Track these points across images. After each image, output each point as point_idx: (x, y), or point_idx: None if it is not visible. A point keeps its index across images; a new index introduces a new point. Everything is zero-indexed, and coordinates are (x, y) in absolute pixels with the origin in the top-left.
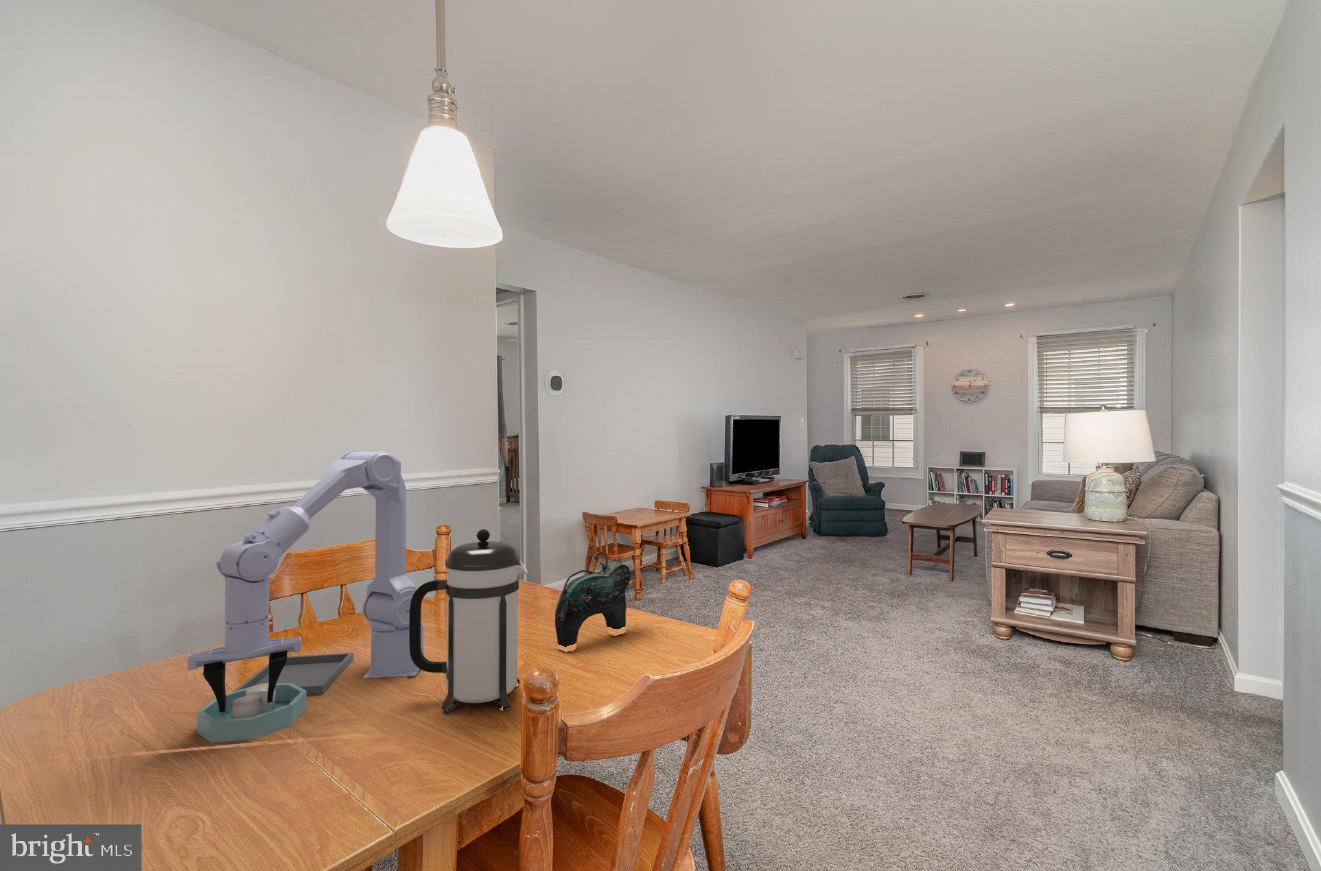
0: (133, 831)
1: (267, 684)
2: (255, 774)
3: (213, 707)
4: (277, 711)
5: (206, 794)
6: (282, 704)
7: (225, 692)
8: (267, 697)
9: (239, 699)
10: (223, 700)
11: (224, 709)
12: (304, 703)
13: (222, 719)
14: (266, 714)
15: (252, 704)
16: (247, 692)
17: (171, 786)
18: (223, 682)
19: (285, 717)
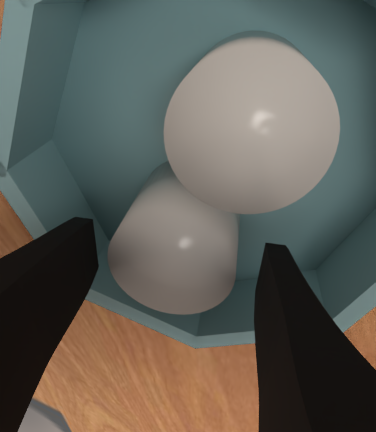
0: (56, 418)
1: (297, 92)
2: (205, 402)
3: (32, 86)
4: None
5: (131, 404)
6: (359, 56)
7: (55, 257)
8: (254, 320)
9: (138, 235)
10: (71, 315)
11: (92, 275)
12: None
13: (100, 72)
14: (241, 342)
15: (194, 311)
16: (171, 164)
17: (67, 354)
18: (18, 395)
19: None
